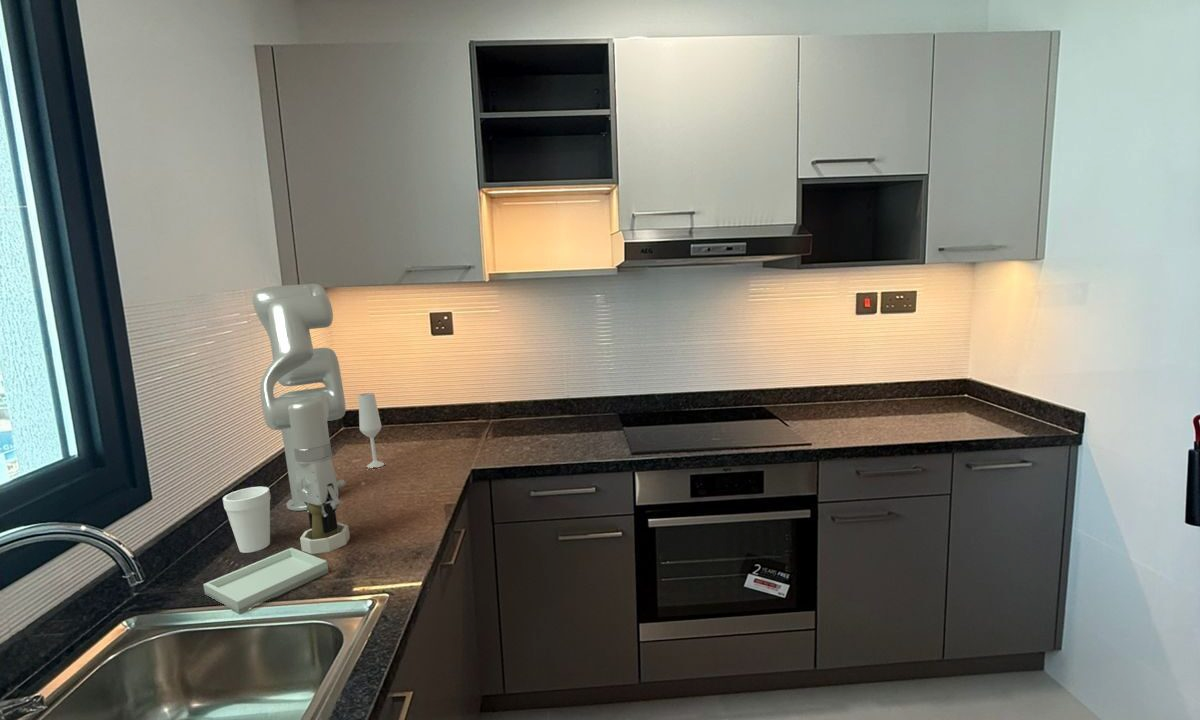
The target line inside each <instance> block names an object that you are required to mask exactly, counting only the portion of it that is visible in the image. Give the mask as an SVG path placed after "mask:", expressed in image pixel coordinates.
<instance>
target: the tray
mask: <svg viewBox="0 0 1200 720" xmlns="http://www.w3.org/2000/svg"><path fill="white" fill-rule="evenodd" d="M328 565H329V564H328V561H327V560H325V559H323V558H320V557H318V556H315V555H313V554H310V553H307V552H305V551H302V550H299V549H296V548H294V547H290V548H287V549H285V550H282V551H280V552H278V553H274V554H273V555H270V556H268V557H266V558H263V559H260V560H258V561H256V562H254V563H251V564H248V565H246V566H244V567H241V568H239V569H236V570H234V571H231V572H230V573H226V574H224V575H222V576H219V577H217V578H215V579H212V580H209V581H207V582H206V583H203V590H204V596H205V595H207V596H209V597H211V598H212V599H215V600H216V601H218V602H220V603H222V604H224V605H226V606H228V607H230V608H231V609H232V610H231V611H232V612H234V613H236V614H238V615H241V614H244V613H246V612H247V611H249V610H248V609H249V608H250V607H252V606H253V605H255V604H257V603H260V602H263V601H266V600H268V599H271V598H273V599H275V598H277V597H279V596H281V595H283V594H285V593H288V592H290V591H292V590H294V589H297V588H298V587H301V586H302V585H304V584H307V583H309V582H311V581H313V580H315V579H317V578H319V577H321V576H325V575H326V574H328V573H329V566H328ZM274 597H275V598H274ZM212 599H211V600H212ZM271 600H272V599H271ZM216 601H215V602H216Z"/></svg>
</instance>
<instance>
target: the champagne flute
mask: <svg viewBox="0 0 1200 720" xmlns="http://www.w3.org/2000/svg"><path fill="white" fill-rule="evenodd" d="M375 396H376V395H375V393H374V392H367V393H361V394H359V395H358V421H359V422H358V424H359V431H360V432H361V433H362V434H363V435H364V436H366V437H367V438H369V439H370V449H371V454H372V455H371V456H372V461H371V462H370V463H368V464H367V465H366V466H367V467H368V468H369V467H370V468H373V467H380V466H382V465H384V463H385V462H382V461H380V460H378V459H377V452H376V451H377V450H376V445H375V437H376V436H377V435H378V434H379V432H380V431H381V429H382V423H381V422H382V421H381V418H380V414H379V409H378V405H377V401H376V397H375Z"/></svg>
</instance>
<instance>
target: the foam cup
mask: <svg viewBox="0 0 1200 720" xmlns="http://www.w3.org/2000/svg"><path fill="white" fill-rule="evenodd" d="M271 498H272V497H271V492H270V488H269V487H267V486H250V487H246V488H241V489H238V490H236V491H232V492H230V493H228V494H226V495H224V496H223V497H222V503H223V509H224V510H225V512H226V514H227V515H226V516H227V518H228V520H229V524H230V527H231V529H232V532H233V535H234V539H235V541H236V542H235V543H236V544H237V548H238V550H239V552H240V553H243V554H245V553H246V554H247V553H253V552H259V551H261V550H263V549H265V548H268V546H270V544H271V501H270V500H271Z"/></svg>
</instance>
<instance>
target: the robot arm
mask: <svg viewBox="0 0 1200 720" xmlns="http://www.w3.org/2000/svg"><path fill="white" fill-rule="evenodd" d="M252 304H253V307H254V311H255V314H256V316H257V318H258V320H259V322H260V323H261V325H262V327H263V328H264V330H265V331H266V333H267V337H268V338H269V341H270V349H271V354H272V360H273V361H272V362H271V363H270V364H269V366H268V367H267V369H266V370H265V372H264V373H263V375H262V378H261V381H260V388H259V393H260V401H261V407H262V415H263V420H264V423H265V424H266V426H267V427H268V428H269V429H271V430H274V431H279V430H280V432H281V437H282V441H283V447H284V455H285V460H286V461H285V462H286V468H287V473H288V482H289V487H290V495H291V498H290V499H289V500H288V501H286V508H287V509H288V510H291V511H296V512H297V511H299V512H300V511H306V512H307V513H308V521H309V527H310V529H312V514H311V513H310V512H309V508H308V506H309V503H310V504H313V505H317V506H320V507H321V510H322V514H323V516H322V517H321V519H322V526H323V532H324V533H328V532H331V531H333V530H336V529H337V523H338V522H337V512H338V511H337V509H338V507H339V506H340V505H341V501H340V500H339V489H340V488H342V487H345V485H346V481H345V480H344V479H340V480H338V479H337V476H336V472H335V471H336V470H335V467H334V464H333V460H332V456H333V455H332V449H331V447H332V446H331V440H330V433H329V427H328V422H329V421H337V420H340V419H342V418H343V417H344V416H345V414H346V408H347V407H346V398H345V393H344V392H345V391H344V388H343V381H342V380H343V379H342V375H341V374H342V373H341V368H340V364H339V359H338V356H337V354H336V353H335V351H334V350H333V349H332V348H329V347H315V348H314V347H313V342H312V336H311V333H310V330H313V329H325V328H329V327H330V326H331V325H332V323H333V321H334V320H333V318H334V313H333V307H332V303H331V300H330V299H329V297H328V294H327V293H326V290H325V288H324V287H323V286H322V285H321V284H318V283H306V284H304V283H303V284H290V285H273V286H272V285H271V286H267V287H262V288H260V289H257V290H255V291H254V293H253V294H252ZM277 382H278V383H279V384H280V385H281V386H285V387H296V386H304V385H305V386H306V385H312V384H313V385H314V384H318V383H321V384H323V385H324V386H322V387H316V388H306V389H299V390H294V391H293V390H291V391H288V392H285V393H282V394H280V395H279V396H278V397H275V396H274V394H275V393H274V388H275V385H276V384H277ZM327 498H328V499H329V500H328V501H326V499H327ZM329 503H330V506H328V507H327V509H326V506H325V505H327V504H329Z"/></svg>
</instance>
